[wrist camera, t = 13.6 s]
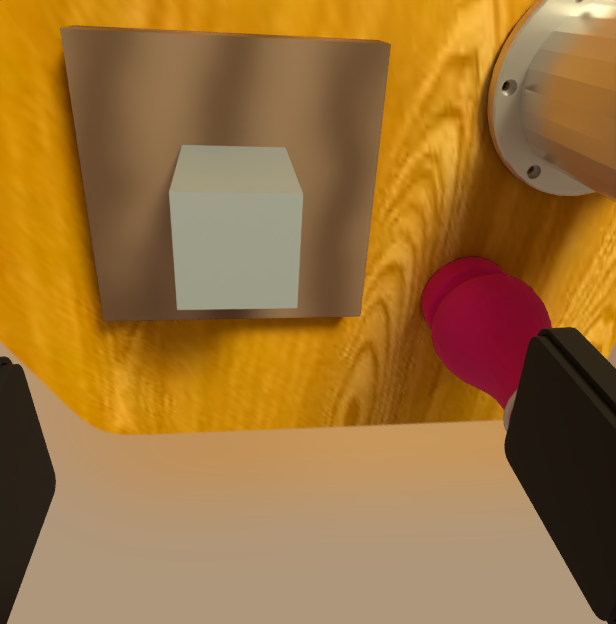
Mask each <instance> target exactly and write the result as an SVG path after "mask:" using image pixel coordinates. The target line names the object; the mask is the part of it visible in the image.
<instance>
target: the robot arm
mask: <svg viewBox="0 0 616 624" xmlns="http://www.w3.org/2000/svg"><path fill="white" fill-rule="evenodd" d="M505 82H506V87H505V88H504V89H503V90H502V86H503V84H504V83H505ZM487 115H488V123H489V132H490V135H491V138H492V141H493V144H494V147H495V150H496V152H497V153H498V155H499V157H500V159H501V160H502V162H503V164H504V165H505V166H506V167H507V168H508V169H509V170H510V171H511V172H512V173H513V174H514V175H515V176H516V177H517V178H518V179H520V180H521V181H523V182H524V183H526V184H527V185H529V186H531V187H533V188H535V189H537V190H539V191H541V192H544V193H549V194H553V195H558V196H579V195H585V194H591V193H595V192H598V193H600V194H601V195H603V196H605V197H607V198H609V199H611V200H612V201H614V202H616V0H537V1H536V2H535V3H534V4H533V5H532V6H531V7H530V8H529V10H528V11H527V12H526V13H525V14H524V16H523V17H522V18H521V19H520V20H519V22H518V23H517V24H516V25H515V27H514V29H513V30H512V32H511V34H510V35H509V37H508V39H507V40H506V42H505V44H504V45H503V48H502V50H501V52H500V55H499V57H498V60H497V62H496V64H495V67H494V70H493V74H492V79H491V83H490V87H489V93H488V107H487ZM530 167H531V168H530ZM529 168H530V170H529V171H528V169H529ZM505 454H506V458H507V460H508V462H509V464H510V466H511V467H512V469H513V471H514V473H515V474H516V476H517V478H518V480H519V481H520V483H521V485H522V487H523V488H524V490H525V492H526V494H527V496H528V497H529V499H530V501H531V503H532V504H533V506H534V508H535V510H536V511H537V513H538V515H539V517H540V519H541V520H542V522H543V524H544V525H545V527H546V529H547V531H548V533H549V534H550V536H551V538H552V540H553V542H554V543H555V545H556V547H557V549H558V550H559V552H560V554H561V556H562V557H563V559H564V561H565V563H566V565H567V566H568V568H569V570H570V572H571V573H572V575H573V577H574V579H575V580H576V582H577V584H578V586H579V587H580V589H581V591H582V593H583V595H584V596H585V598H586V600H587V601H588V603H589V605H590V607H591V609H592V610H593V612H594V613H595V615H596V616H597V617H598V618H599V619H601V620H603V621H607V622H608V624H616V369H615V368H614V367H613V366H612V365H611V364H610V362H608V360H607V359H606V358H605V357H604V356H603V355H602V354H601V353H600V352H599V351H598V350H597V349H596V348H595V347H594V346H593V345H592V344H591V343H590V342H589V341H588V340H587V339H586V338H585V337H584V336H583V335H582V334H581V333H580V332H579V331H578V330H577V329H575V328H572V327H566V328H546V329H542V330H540V332H539V333H538V335H537V337H532V338H531V339H530V341H529V344H528V348H527V352H526V356H525V360H524V364H523V368H522V372H521V376H520V381H519V385H518V389H517V393H516V397H515V401H514V405H513V409H512V414H511V418H510V422H509V426H508V430H507V435H506V438H505ZM55 484H56V480H55V472H54V469H53V466H52V462H51V459H50V456H49V453H48V450H47V446H46V443H45V439H44V437H43V433H42V430H41V426H40V423H39V420H38V416H37V414H36V410H35V407H34V403H33V400H32V397H31V393H30V390H29V387H28V383H27V380H26V377H25V374H24V371H23V368H22V367H21V366H20V365H19V364H12V362H11V360H10V359H9V358H7V357H0V624H7V621H8V618H9V616H10V613H11V610H12V607H13V605H14V602H15V599H16V596H17V594H18V591H19V588H20V586H21V583H22V580H23V577H24V575H25V572H26V569H27V566H28V564H29V561H30V558H31V556H32V553H33V550H34V547H35V545H36V542H37V539H38V536H39V534H40V531H41V528H42V526H43V523H44V520H45V517H46V515H47V512H48V509H49V506H50V504H51V501H52V498H53V495H54V492H55Z"/></svg>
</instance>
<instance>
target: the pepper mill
mask: <svg viewBox="0 0 616 624" xmlns="http://www.w3.org/2000/svg"><path fill="white" fill-rule="evenodd" d="M421 309H422V313H423V316H424V318H425V320H426V322H427V323H428V325H429V327H430V328H431V330H432V341H433V346H434V348H435V351H436V353H437V355H438V356H439V358H440V359H441V360H442V362H443V363H444V364H445V366H446V367H447V368H448V369H449V370H450V371H451V372H452V373H454V374H455V375H456V376H457V377H459V378H460V379H462V380H463V381H464V382H466V383H468V384H470V385H472V386H474V387H476V388H478V389H480V390H482V391H484V392H486V393H488V394H489V395H491V396H492V397H493V398H494V399H496V400H497V401H498V403H499V404H500V405H501V406H502V408H503V409H504V410H505V411H504V415H503V421H504V426H505V429H506V431H507V430H508V426H509V422H510V418H511V414H512V409H513V405H514V401H515V397H516V393H517V389H518V385H519V381H520V376H521V372H522V368H523V364H524V360H525V356H526V352H527V348H528V344H529V341H530V339H531V338H532V337H537V335H538V333H539V332H540V330H542V329H546V328H552V327H551V321H550V318H549V315H548V312H547V310H546V307H545V305H544V303H543V302H542V301H541V299H540V298H539V297H538V295H537V294H536V293H535V292H534V290H533V289H532V288H531V287H530V286H528V285H527V284H526V283H525V282H523V281H521V280H519V279H517V278H515V277H511V276H507V274H506V273H505V272H504V271H503V270H502V269H501V268H500V267H499V266H498V265H497V264H495V263H493V262H492V261H490V260H487V259H484V258H480V257H466V258H461V259H458V260H455V261H453V262H450V263H448V264H447V265H445V266H443V267H442V268H440V269H439V270H438V271H437V272H436V273H435V274H434V275H433V276H432V277H431V279H430V280H429V282H428V283H427V285H426V287H425V289H424V292H423V295H422V301H421Z"/></svg>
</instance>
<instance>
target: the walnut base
mask: <svg viewBox="0 0 616 624" xmlns="http://www.w3.org/2000/svg"><path fill="white" fill-rule="evenodd" d="M60 31H61V38H62V44H63V51H64V58H65V65H66V71H67V78H68V85H69V91H70V98H71V105H72V112H73V118H74V125H75V132H76V138H77V145H78V152H79V159H80V165H81V172H82V179H83V185H84V192H85V199H86V206H87V212H88V219H89V226H90V232H91V239H92V246H93V253H94V259H95V266H96V273H97V279H98V286H99V293H100V300H101V306H102V313H103V320H104V321H153V320H203V319H253V318H304V317H354V316H360V313H361V304H362V295H363V286H364V278H365V269H366V260H367V251H368V242H369V233H370V224H371V215H372V207H373V198H374V189H375V180H376V171H377V162H378V153H379V144H380V135H381V127H382V118H383V109H384V100H385V91H386V82H387V73H388V64H389V56H390V47H391V44H388V43H385V42H382V41H379V40H361V39H340V38H320V37H299V36H279V35H258V34H238V33H217V32H196V31H176V30H155V29H135V28H114V27H94V26H73V25H72V26H68V27H64V28H60ZM182 145H204V146H245V147H285V148H286V150H287V153H288V155H289V158H290V161H291V163H292V166H293V168H294V171H295V174H296V176H297V179H298V182H299V184H300V187H301V189H302V192H303V208H302V227H301V246H300V265H299V285H298V304H297V308H275V309H209V310H177V300H176V286H175V272H174V257H173V243H172V228H171V214H170V200H169V190H170V187H171V183H172V179H173V176H174V172H175V168H176V165H177V161H178V158H179V154H180V150H181V147H182Z"/></svg>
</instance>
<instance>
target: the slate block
mask: <svg viewBox="0 0 616 624" xmlns="http://www.w3.org/2000/svg"><path fill="white" fill-rule="evenodd" d="M169 200H170V214H171V228H172V243H173V257H174V272H175V286H176V300H177V310H209V309H275V308H297V304H298V285H299V265H300V246H301V227H302V208H303V192H302V189H301V187H300V184H299V182H298V179H297V176H296V174H295V171H294V168H293V166H292V163H291V161H290V158H289V155H288V153H287V150H286V148H285V147H245V146H204V145H182V147H181V150H180V154H179V158H178V161H177V165H176V168H175V172H174V176H173V179H172V183H171V187H170V190H169Z"/></svg>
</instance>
